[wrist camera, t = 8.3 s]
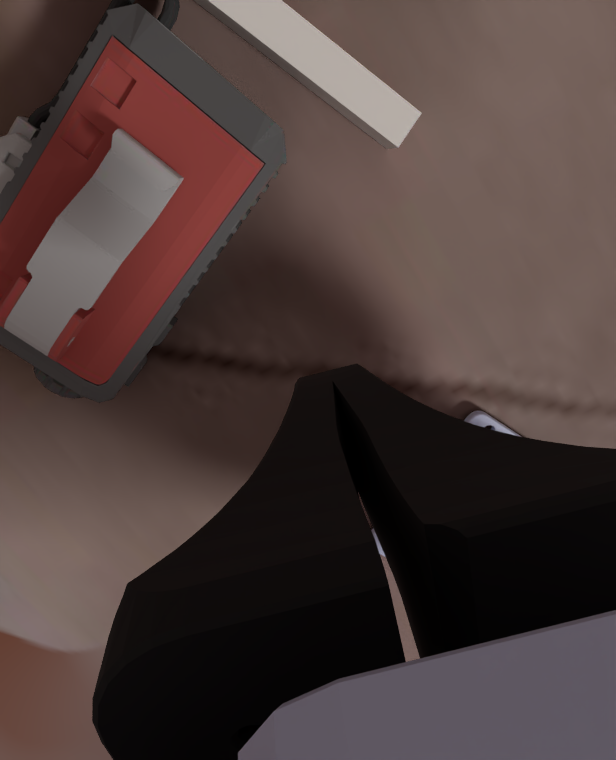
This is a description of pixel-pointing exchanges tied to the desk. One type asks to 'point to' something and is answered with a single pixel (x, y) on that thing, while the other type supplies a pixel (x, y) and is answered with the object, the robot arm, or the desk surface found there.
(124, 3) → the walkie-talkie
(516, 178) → the desk surface
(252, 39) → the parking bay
